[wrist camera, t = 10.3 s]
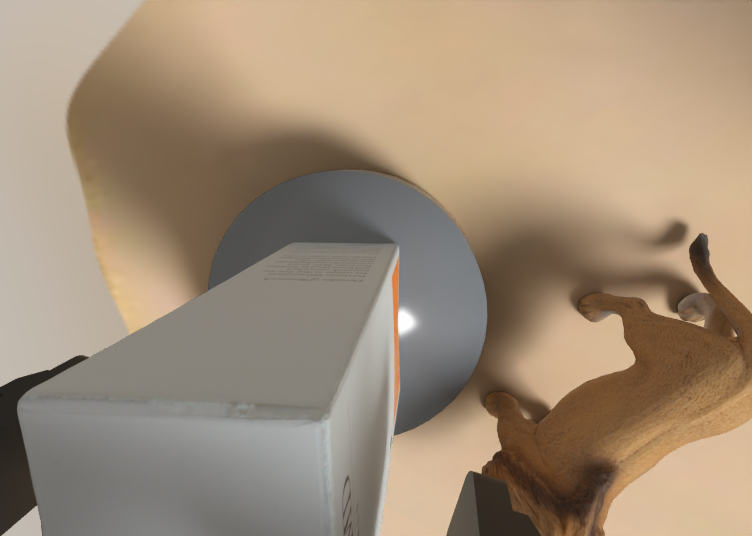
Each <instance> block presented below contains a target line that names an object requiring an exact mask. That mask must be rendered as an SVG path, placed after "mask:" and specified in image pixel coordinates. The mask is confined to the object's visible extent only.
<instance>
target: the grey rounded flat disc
mask: <svg viewBox="0 0 752 536" xmlns="http://www.w3.org/2000/svg"><path fill="white" fill-rule="evenodd" d="M295 242H309V243H364V244H388V243H392V244H398V245H399V301H398V330H399V367H400V393H399V400H398V407H397V415H396V422H395V428H394V435H398V434H401V433H403V432H406V431H408V430H411V429H414V428H415V427H417V426H419V425H421V424H423V423H425V422H427V421H428V420H430V419H431V418H433V417H434V416H435V415H437V414H438V413H439V412H441V411H442V410H443V409H444V408H445V407H446V406H448V405H449V404H450V403H451V402H452V401H453V400H454V399H455V398H456V396H457V395H458V394H459V393H460V391H461V390H462V389H463V388H464V386H465V385H466V383H467V382H468V380H469V378H470V377H471V375H472V373H473V371H474V370H475V367H476V365H477V362H478V360H479V358H480V355H481V352H482V348H483V344H484V340H485V336H486V327H487V299H486V293H485V287H484V282H483V279H482V275H481V272H480V269H479V266H478V263H477V261H476V258H475V256H474V254H473V251H472V249H471V247H470V245H469V243H468V241H467V239H466V236H465V234H464V233H463V231H462V230H461V228H460V226H459V225H458V223H457V222H456V220H455V219H454V218H453V217H452V216H451V214H450V213H449V212H448V211H447V210H446V209H445V208H444V206H442V205H441V204H440V203H439V202H438V201H437V200H436V199H434V198H433V197H432V196H431V195H430V194H428V193H427V192H425V191H424V190H422V189H421V188H419V187H418V186H416V185H414V184H412V183H410V182H408V181H406V180H404V179H401V178H399V177H396V176H393V175H390V174H386V173H382V172H377V171H372V170H361V169H346V170H334V171H326V172H317V173H313V174H308V175H304V176H300V177H297V178H294V179H291V180H289V181H286V182H283V183H281V184H279V185H277V186H275V187H274V188H272V189H270V190H268V191H266V192H265V193H263V194H262V195H261V196H259V197H258V198H257V199H255V200H254V201H253V202H252V203H250V204H249V205H248V206H247V207H246V208H245V209H244V210H243V211H242V212H241V213H240V214H239V215H238V216H237V218H236V219H235V220H234V222H233V223H232V225H231V226H230V227H229V229H228V230H227V232H226V233H225V235H224V237H223V239H222V241H221V243H220V245H219V247H218V249H217V252H216V255H215V257H214V260H213V264H212V268H211V273H210V277H209V286H208V290H210V289H212V288H214V287H216V286H218V285H219V284H221V283H223V282H225V281H227V280H228V279H230V278H232V277H234V276H235V275H237V274H239V273H240V272H242V271H244V270H245V269H247V268H249V267H250V266H252V265H254V264H256V263H258V262H259V261H261V260H263V259H264V258H266V257H268V256H270V255H272V254H273V253H275V252H277V251H279V250H280V249H282V248H284V247H286V246H287V245H289V244H291V243H295ZM394 435H393V436H394Z"/></svg>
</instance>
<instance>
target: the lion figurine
mask: <svg viewBox="0 0 752 536" xmlns="http://www.w3.org/2000/svg"><path fill="white" fill-rule="evenodd" d="M689 253H690V260H691V263H692V266H693V269H694V272H695V273H696V275H697V276H698V278H699V279H700V281H701V282H702V284H703V286H704V287H705V288H706V290H707V291H708V292H709V294H708V293H693V294H691V295H689V296H687V297H685V298H684V299H683V300H682V301H681V302H680V303H679V304H678V312H679V316H680V318H681V319H682V320H684V321H691V322H698V321H702V320H704V319H705V324H704V328H703V327H700V326H698V325H695V324H692V323H688V322H684V321H681V320H677V319H673V318H669V317H664V316H661V315H657V314H655V313H653V312H651V310H650V309H649V307H648V305H647V304H646V302H645V301H644V300H642V299H640V298H628V297H617V296H613V295H609V294H603V293H595V294H590V295H587V296H585V297H584V298H582V299H581V300H580V303H579V311H580V313H581V314H582V315H583V316H584V317H585V318H586V319H588V320H589V321H591V322H599V321H601V320H603V319H604V318H606V317H607V316H609V315H611V314H618V315H620V316H621V317H622V321H623V326H624V338H625V341H626V343H627V344H628V346H629V347H630V348H631V349H632V351H633V353H634V355H635V358H636V360H635V364H634V365H632V366H631V367H630V368H628V369H626V370H624V371H619V372H614V373H612V374H608V375H604V376H601V377H598V378H596V379H592V380H589V381H587V382H585V383H583V384H582V385H580V386H579V387H577V388H576V389H574V390H572V391H571V392H570V393H568V394H567V395H566V396H565V397H564V398H562V399H561V400H560V401H559V403H558V404H557V405H556V406H555V407H554V408H553V409H552V410H551V412H550V413H549V414H548V415H547V416H546V417H544V418H543V419H542V420H541V421H540V422H539V423H538V424H537V423H535V422H533V421H531V420H528V419H526V418H524V417H523V415H522V413H521V411H520V407H519V402H518V401H517V400H516V399H515V398H513V397H511V396H510V395H508V394H507V393H504V392H493V393H491V394H489V395H488V396H487V397H486V401H485V407H486V408H487V411H488V412H489V414H490V415H492V416H494V417H496V418H498V424H497V432H498V437H499V441H500V443H501V447H502V450H501V451H499V452H496V453H495V454H494V456H493V459H492V461H488V462H487V464H486V465H485V466H483V467H482V474H483V475H486V476H490V477H493V478H497V479H500V480H503V481H505V482H506V483H507V486H508V490H509V495H510V500H511V504H512V509H513V511H516V512H519V513H522V514H526V515H528V516H529V517H530V519H531V520H532V522H533V523H534V525H535V526H536V528H537V529H538V531H539V532H540V534H541V535H542V536H605V533H604V530H603V524H604V522H605V520H606V517H607V514H608V510H609V508H610V505H611V503H612V501H613V500H614V499H615V498H616V497H617V495H618V494H619V493H620V492H621V491H622V490H623V489H624V488H625V487H627V486H628V485H629V484H630V483H632V482H633V481H634V480H636V479H637V478H638V477H640V476H641V475H643V474H644V473H646V472H647V471H649V470H650V469H651V468H653V467H654V466H655V465H656V464H657V463H658V462H659V461H660V460H661V459H662V458H663V457H665V456H666V455H668V454H669V453H671V452H673V451H674V450H676V449H678V448H679V447H681V446H683V445H685V444H688V443H690V442H693V441H696V440H700V439H703V438H708V437H712V436H716V435H720V434H723V433H726V432H728V431H731V430H733V429H735V428H737V427H739V426H740V425H742V424H744V423H745V422H747V421H748V420H750V419H751V418H752V314H751V313H750V311H749V310H748V309H747V308H746V307H745V306H744V305H743V304H742V303H741V302H740V301H739V300H738V299H737V298H736V297H735V296H734V295H733V294H732V293H731V292H730V291H729V290H728V289H727V288H726V287H724V285H723V284H722V283H721V282H720V281H719V280H718V279H717V277H716V275H715V274H714V272H713V269H712V267H711V265H710V262H709V250H708V237H707V235H705V234H703V233H701V234H699V236H698V237H697V238H696V239H695V241H694V242H693V243H692V244H691V245H690V248H689ZM734 331H735V333H736V334H737V337H734Z"/></svg>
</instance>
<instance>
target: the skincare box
mask: <svg viewBox="0 0 752 536" xmlns="http://www.w3.org/2000/svg"><path fill="white" fill-rule="evenodd" d="M398 301H399V245H398V244H392V243H388V244H364V243H309V242H295V243H291V244H289V245H287V246H286V247H284V248H282V249H280V250H279V251H277V252H275V253H273V254H272V255H270V256H268V257H266V258H264V259H263V260H261V261H259V262H258V263H256V264H254V265H252V266H250V267H249V268H247V269H245V270H244V271H242V272H240V273H239V274H237V275H235V276H234V277H232V278H230V279H228V280H227V281H225V282H223V283H221V284H219V285H218V286H216V287H214V288H212V289H210V290H208V291H207V292H205V293H204V294H202V295H200V296H198V297H196V298H195V299H193V300H191V301H189V302H187V303H186V304H184V305H182V306H181V307H179V308H177V309H176V310H174V311H172V312H170V313H169V314H167V315H165V316H163V317H161V318H159V319H157V320H156V321H154V322H152V323H151V324H149V325H148V326H146V327H144V328H142V329H140V330H138V331H136V332H134V333H132V334H131V335H129V336H127V337H126V338H124V339H122V340H120V341H119V342H117V343H115V344H113V345H111V346H109V347H108V348H106V349H104V350H102V351H100V352H98V353H97V354H95V355H93V356H91V357H89V358H88V359H86V360H84V361H82V362H80V363H78V364H76V365H74V366H72V367H71V368H69V369H67V370H65V371H63V372H62V373H60V374H58V375H56V376H55V377H53V378H51V379H49V380H47V381H45V382H43V383H41V384H39V385H37V386H35V387H33V388H32V389H30V390H29V391H28V392H26V393H25V394H24V395H23V396H22V397H21V398H20V400H19V401H18V406H17V413H18V419H19V423H20V427H21V432H22V436H23V440H24V445H25V449H26V453H27V458H28V464H29V469H30V474H31V479H32V484H33V489H34V493H35V497H36V502H37V506H38V511H39V515H40V520H41V528H42V536H380V531H381V524H382V516H383V509H384V502H385V495H386V488H387V481H388V474H389V465H390V458H391V450H392V442H393V435H394V428H395V422H396V415H397V407H398V400H399V393H400V367H399V330H398Z"/></svg>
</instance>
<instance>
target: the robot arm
mask: <svg viewBox="0 0 752 536" xmlns="http://www.w3.org/2000/svg"><path fill="white" fill-rule="evenodd" d="M88 358H89V357H86V356H83V355H79V356H76V357H74V358H72V359H70V360H68V361H67V362H65V363H63V364H61V365H59V366H57V367H55V368H53V369H52V370H50V371H49V370H45V371H42V372H38V373H35V374H31V375H28V376H24V377H21V378H18V379H15V380H13V381H11V382H9V383H8V384H6V385H4V386H2V387H0V536H1V535H2V534H4V533H5V532H6V531H7V530H8V529H10V528H11V527H12V526H13V525H14V524H15V523H17V522H18V521H19V520H20V519H21V518H22V517H24V516H25V515H26V514H27V513H28V512H29V511H31V510H32V509H33V508H34V507H35V506H37V502H36V497H35V493H34V489H33V484H32V479H31V474H30V469H29V464H28V458H27V453H26V449H25V445H24V440H23V436H22V432H21V427H20V423H19V419H18V413H17V406H18V401H19V400H20V398H21V397H22V396H23V395H24V394H25V393H26V392H28V391H29V390H30V389H32V388H33V387H35V386H37V385H39V384H41V383H43V382H45V381H47V380H49V379H51V378H53V377H55V376H56V375H58V374H60V373H62V372H63V371H65V370H67V369H69V368H71V367H72V366H74V365H76V364H78V363H80V362H82V361H84V360H86V359H88ZM447 536H542V535H541V534H540V532H539V531H538V529H537V528H536V526H535V525H534V523H533V522H532V520H531V519H530V517H529V516H528V515H526V514H522V513H519V512H516V511H513V509H512V504H511V500H510V495H509V490H508V486H507V483H506V482H505V481H503V480H500V479H497V478H493V477H490V476H486V475H483V474H480V473H476V472H473V471H469V472H468V474H467V476H466V478H465V481H464V484H463V487H462V490H461V493H460V496H459V499H458V502H457V505H456V508H455V511H454V514H453V516H452V519H451V522H450V525H449V528H448V532H447Z"/></svg>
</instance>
